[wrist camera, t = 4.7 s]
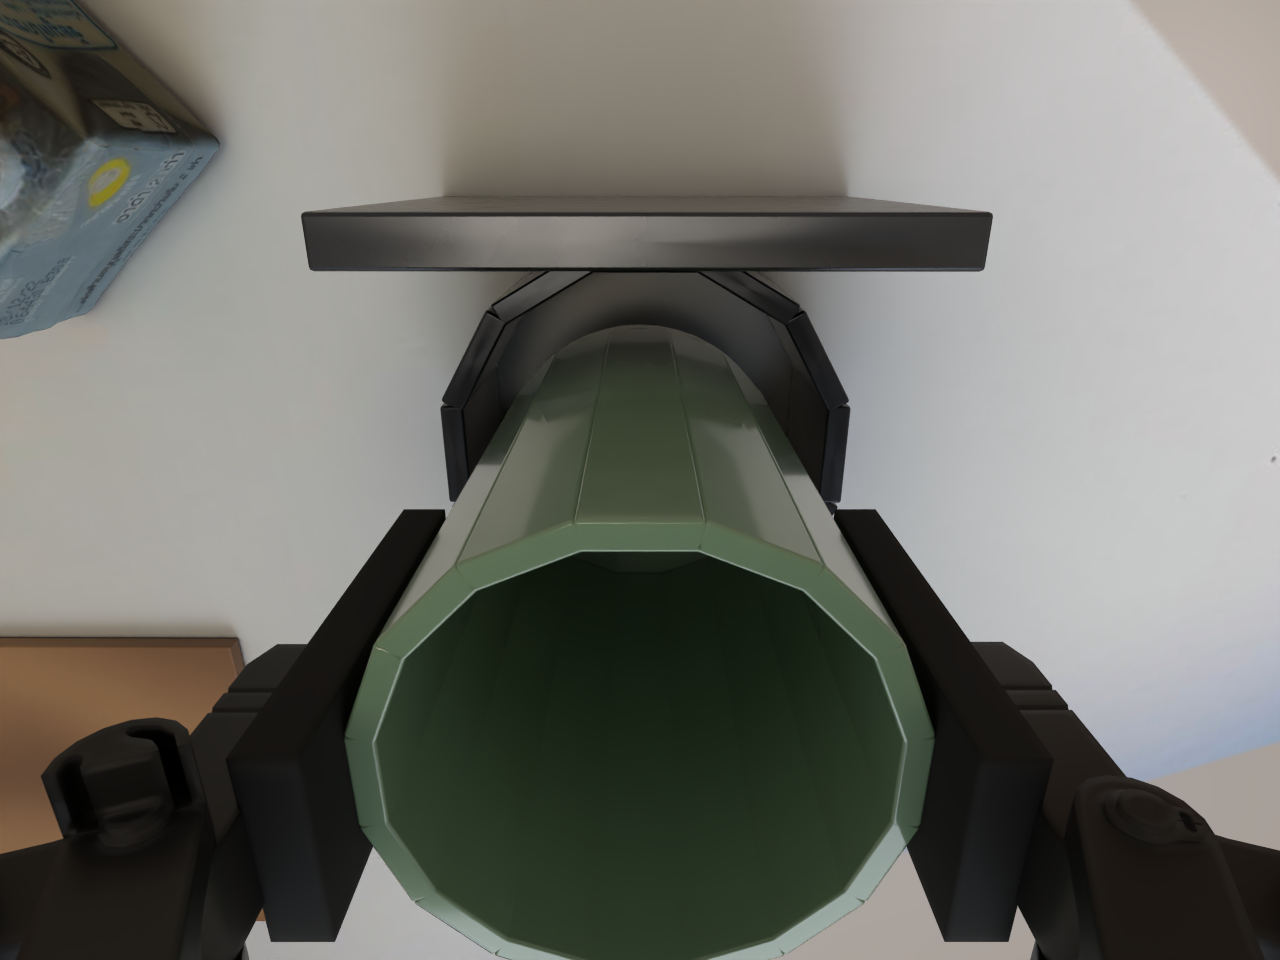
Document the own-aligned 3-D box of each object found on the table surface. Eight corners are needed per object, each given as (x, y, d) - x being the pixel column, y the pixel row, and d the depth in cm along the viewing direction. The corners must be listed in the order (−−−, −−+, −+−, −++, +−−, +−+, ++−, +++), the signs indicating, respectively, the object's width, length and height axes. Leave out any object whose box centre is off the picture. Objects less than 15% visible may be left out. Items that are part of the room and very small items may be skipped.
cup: (764, 575, 22) (894, 983, 11) (515, 575, 22) (385, 983, 11) (781, 324, 19) (976, 520, 8) (497, 323, 19) (303, 520, 8)
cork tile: (301, 909, 33) (295, 922, 33) (-18, 908, 33) (-29, 920, 33) (238, 637, 28) (230, 647, 28) (-139, 636, 28) (-155, 646, 28)
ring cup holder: (815, 549, 27) (907, 749, 17) (473, 548, 27) (383, 748, 17) (849, 196, 22) (995, 212, 13) (441, 196, 22) (298, 211, 13)
